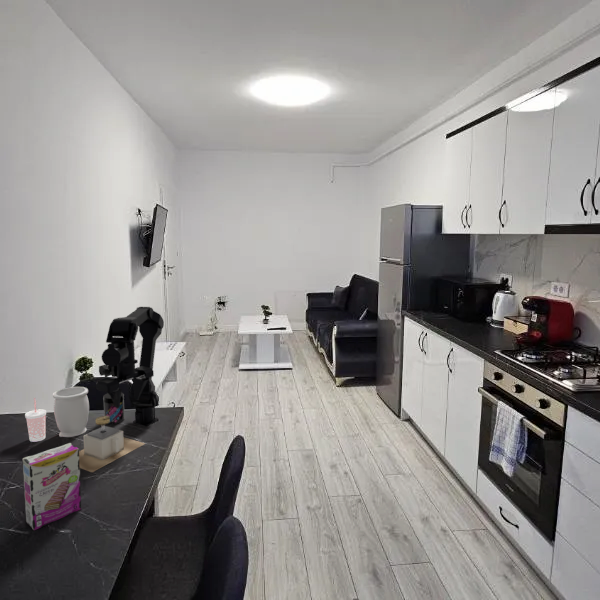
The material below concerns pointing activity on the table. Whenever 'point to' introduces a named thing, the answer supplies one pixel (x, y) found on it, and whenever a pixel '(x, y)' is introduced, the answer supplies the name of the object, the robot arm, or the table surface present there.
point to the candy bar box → (51, 485)
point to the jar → (71, 410)
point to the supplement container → (114, 409)
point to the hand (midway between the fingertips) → (127, 403)
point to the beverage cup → (36, 424)
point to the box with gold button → (103, 442)
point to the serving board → (95, 464)
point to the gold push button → (103, 421)
